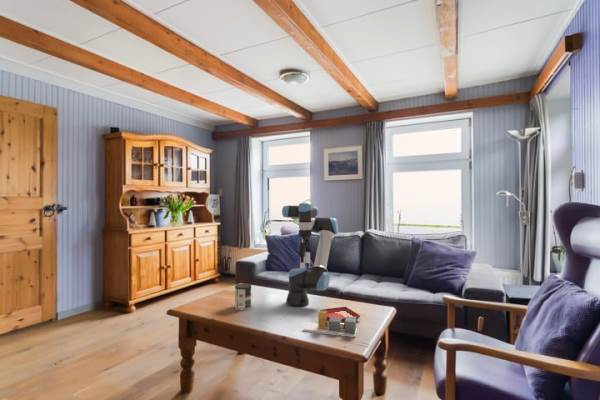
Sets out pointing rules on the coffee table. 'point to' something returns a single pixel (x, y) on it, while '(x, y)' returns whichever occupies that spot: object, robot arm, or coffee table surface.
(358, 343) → the coffee table surface
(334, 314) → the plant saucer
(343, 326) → the yellow wall block
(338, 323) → the grey speckled block
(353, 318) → the socket
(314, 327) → the base board
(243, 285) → the coffee can
